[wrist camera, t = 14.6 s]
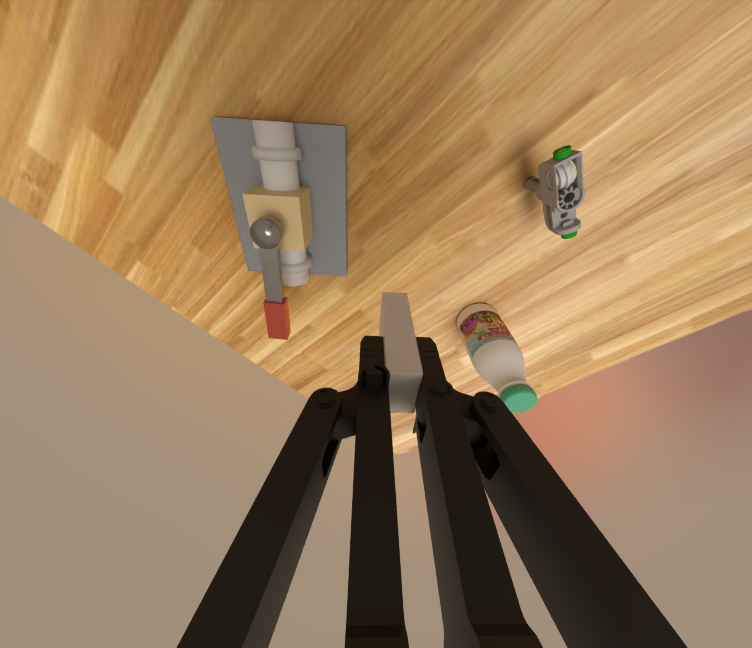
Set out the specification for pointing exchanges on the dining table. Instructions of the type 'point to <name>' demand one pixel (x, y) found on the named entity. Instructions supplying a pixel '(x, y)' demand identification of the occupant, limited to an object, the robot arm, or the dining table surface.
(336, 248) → the pipe valve base
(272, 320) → the valve lever
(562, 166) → the mechanical component
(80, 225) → the dining table surface
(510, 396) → the milk bottle
